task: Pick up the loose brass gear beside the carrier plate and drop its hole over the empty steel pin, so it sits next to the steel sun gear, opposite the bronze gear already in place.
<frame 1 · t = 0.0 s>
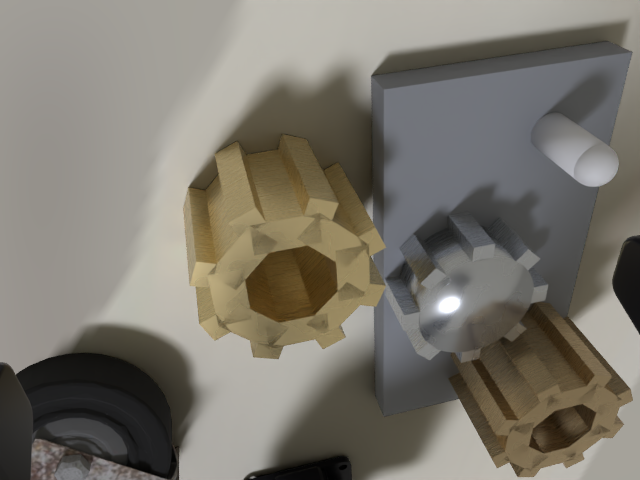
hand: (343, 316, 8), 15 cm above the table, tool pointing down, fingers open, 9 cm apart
planet gear: (269, 212, 24), on the table
sun gear: (452, 272, 27), resting on carrier plate
carrier plate: (472, 247, 28), on the table
seated gear: (509, 352, 31), resting on carrier plate
caster wheel: (85, 427, 29), on the table
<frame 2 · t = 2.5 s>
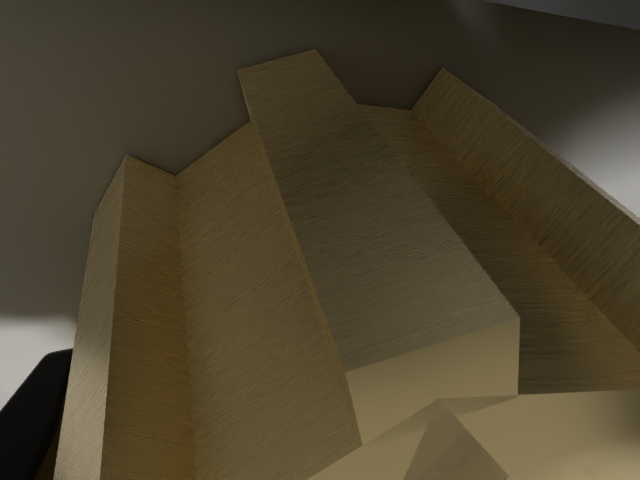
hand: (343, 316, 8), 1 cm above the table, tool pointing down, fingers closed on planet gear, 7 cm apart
planet gear: (325, 273, 9), on the table, touching gripper
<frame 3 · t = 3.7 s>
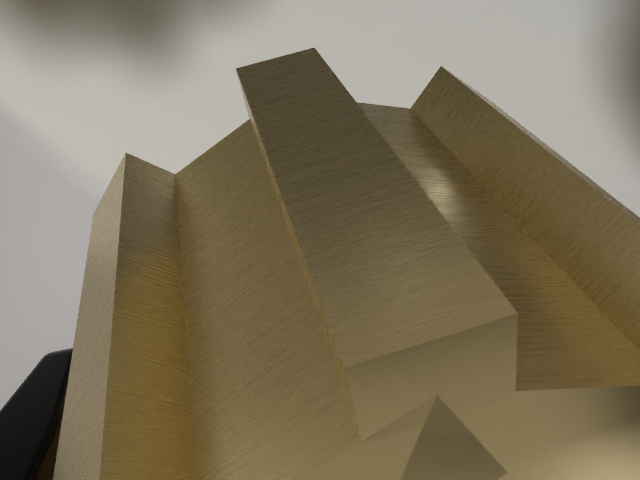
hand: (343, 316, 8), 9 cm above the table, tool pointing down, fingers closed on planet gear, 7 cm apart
planet gear: (325, 272, 9), point 8 cm above the table, touching gripper
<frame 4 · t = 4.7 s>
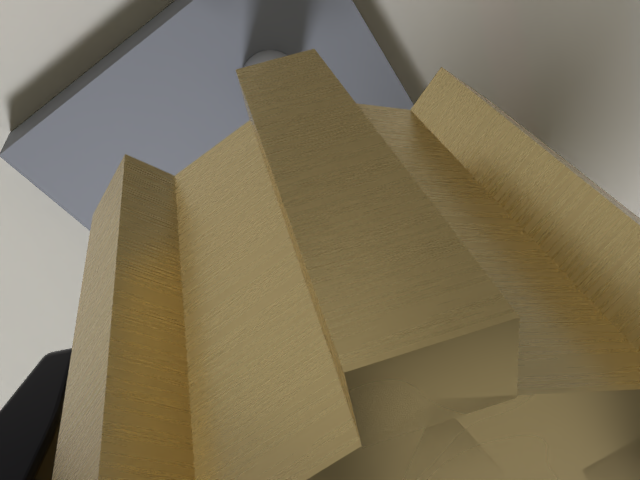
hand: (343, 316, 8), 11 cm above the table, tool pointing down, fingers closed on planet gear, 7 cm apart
planet gear: (325, 273, 9), point 10 cm above the table, touching gripper
carrier plate: (321, 235, 21), on the table
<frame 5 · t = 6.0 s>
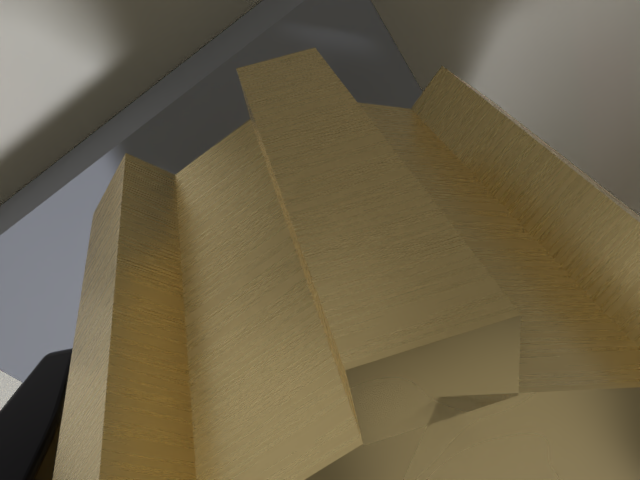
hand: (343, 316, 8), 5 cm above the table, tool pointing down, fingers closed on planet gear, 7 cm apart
planet gear: (325, 272, 9), point 4 cm above the table, touching gripper
carrier plate: (354, 358, 16), on the table
when the fingers open (5 cm above the table, at t = 7.1 s): planet gear drops 2 cm, resting on carrier plate.
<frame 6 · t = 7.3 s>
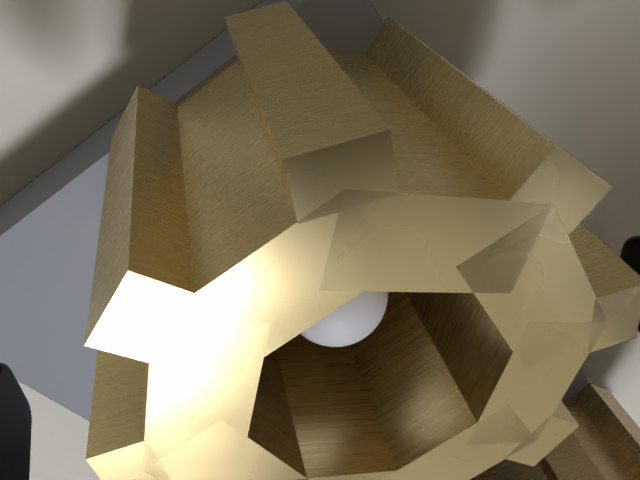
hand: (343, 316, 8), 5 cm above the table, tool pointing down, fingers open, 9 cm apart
planet gear: (300, 194, 11), point 1 cm above the table, touching carrier plate
carrier plate: (354, 359, 16), on the table
seated gear: (520, 459, 19), resting on carrier plate
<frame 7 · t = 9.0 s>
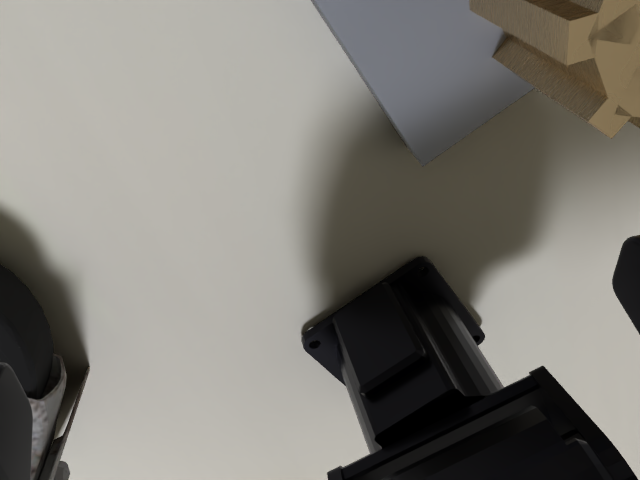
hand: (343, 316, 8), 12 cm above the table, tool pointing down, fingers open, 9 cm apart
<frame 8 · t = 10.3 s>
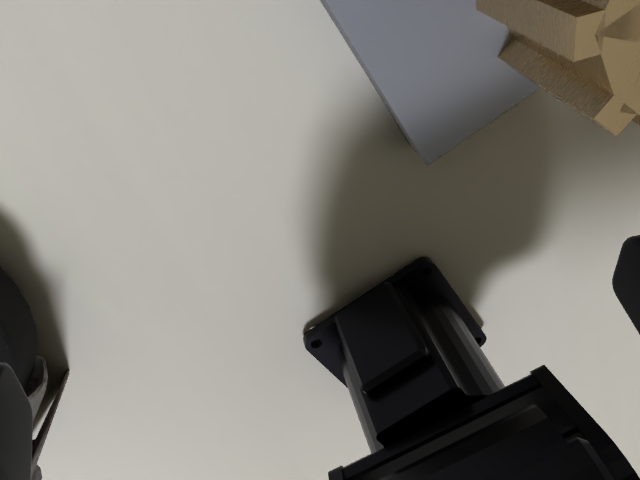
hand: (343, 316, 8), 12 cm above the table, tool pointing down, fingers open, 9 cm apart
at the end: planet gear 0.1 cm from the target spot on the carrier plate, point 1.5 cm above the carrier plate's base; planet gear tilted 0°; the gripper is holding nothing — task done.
